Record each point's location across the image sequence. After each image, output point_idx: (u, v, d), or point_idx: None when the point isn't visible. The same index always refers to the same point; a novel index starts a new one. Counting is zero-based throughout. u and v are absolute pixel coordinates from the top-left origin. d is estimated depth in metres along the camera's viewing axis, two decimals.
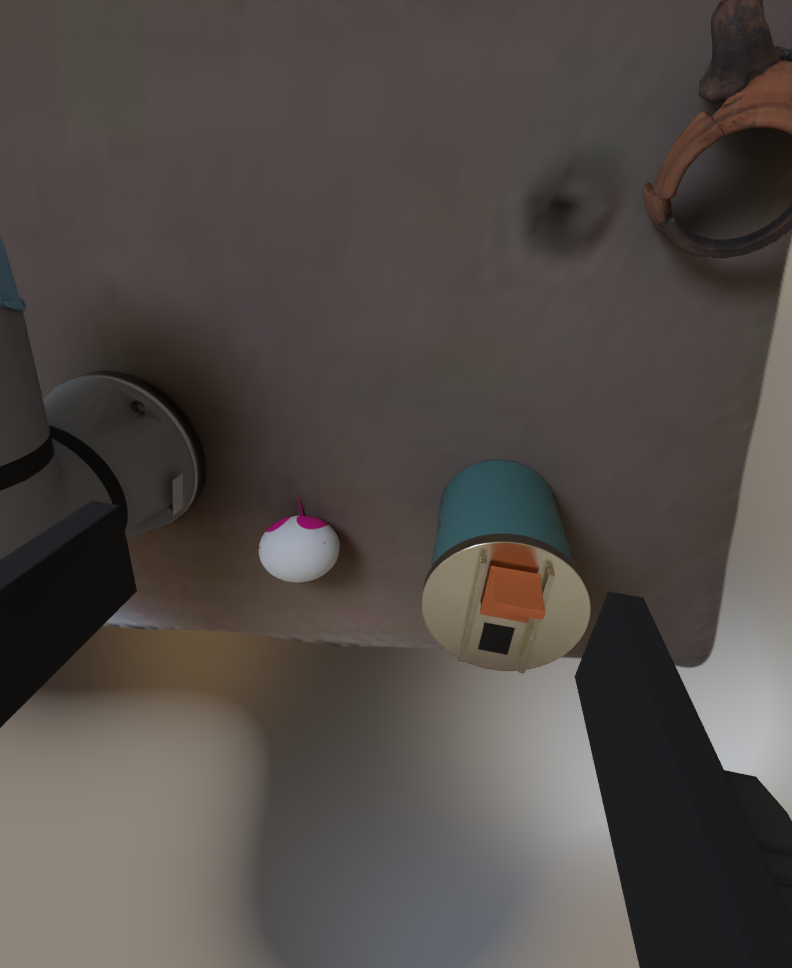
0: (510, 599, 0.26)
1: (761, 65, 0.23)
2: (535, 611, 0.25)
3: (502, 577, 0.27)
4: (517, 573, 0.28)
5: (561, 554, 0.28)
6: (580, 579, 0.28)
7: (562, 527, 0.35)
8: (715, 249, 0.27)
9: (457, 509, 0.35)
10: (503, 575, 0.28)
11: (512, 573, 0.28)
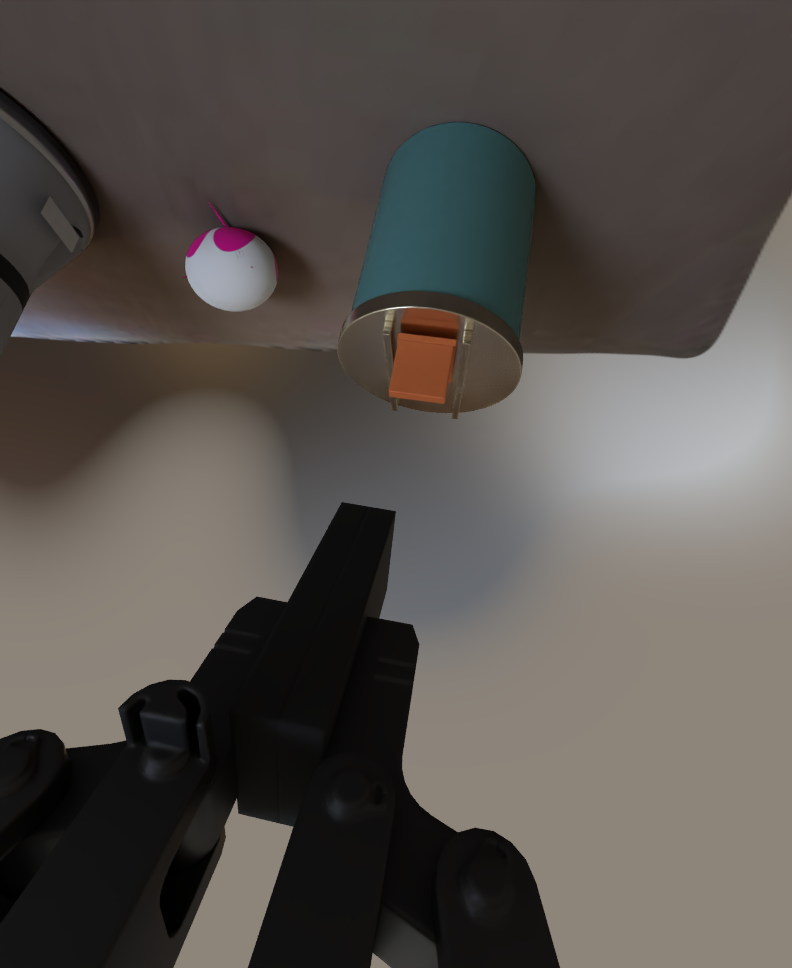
0: (408, 383, 0.23)
1: None
2: (433, 397, 0.23)
3: (407, 350, 0.23)
4: (428, 341, 0.24)
5: (483, 313, 0.23)
6: (505, 341, 0.24)
7: (519, 242, 0.26)
8: None
9: (379, 232, 0.26)
10: (410, 347, 0.24)
11: (421, 342, 0.24)
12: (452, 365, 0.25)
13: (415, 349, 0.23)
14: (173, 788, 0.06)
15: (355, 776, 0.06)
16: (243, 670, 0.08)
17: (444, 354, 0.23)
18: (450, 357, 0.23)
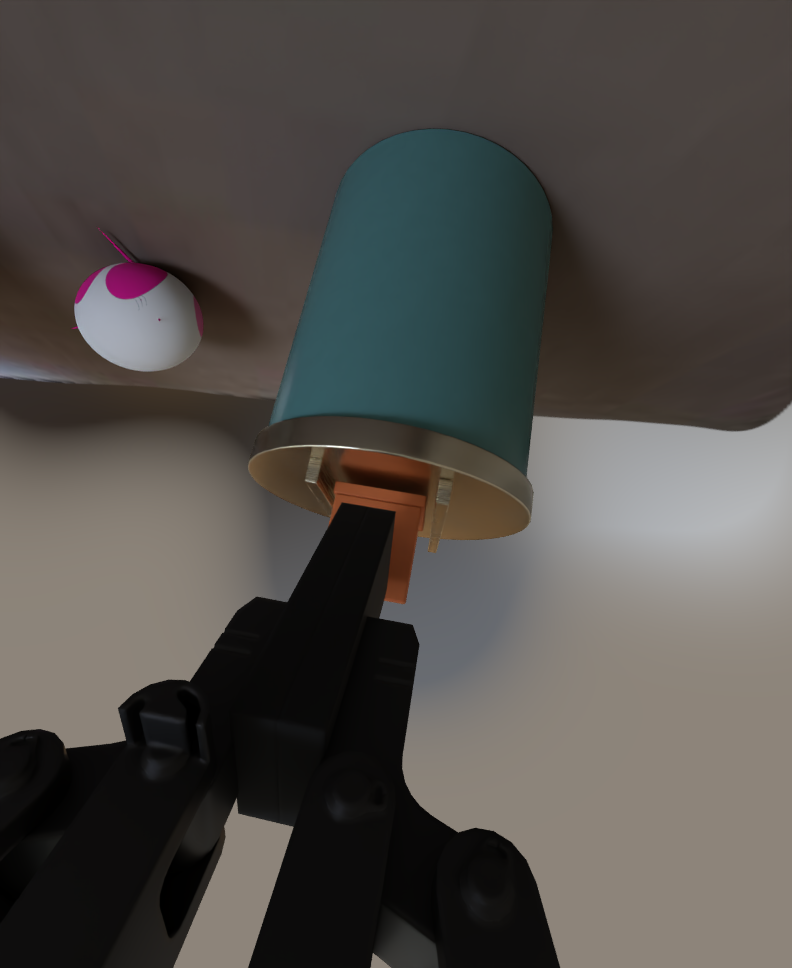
0: None
1: None
2: (387, 600, 0.14)
3: None
4: (381, 498, 0.15)
5: (471, 455, 0.14)
6: (507, 493, 0.14)
7: (530, 318, 0.17)
8: None
9: (313, 297, 0.17)
10: None
11: (371, 499, 0.15)
12: (422, 520, 0.17)
13: None
14: (173, 788, 0.06)
15: (355, 776, 0.06)
16: (243, 670, 0.08)
17: (406, 522, 0.15)
18: (415, 527, 0.15)
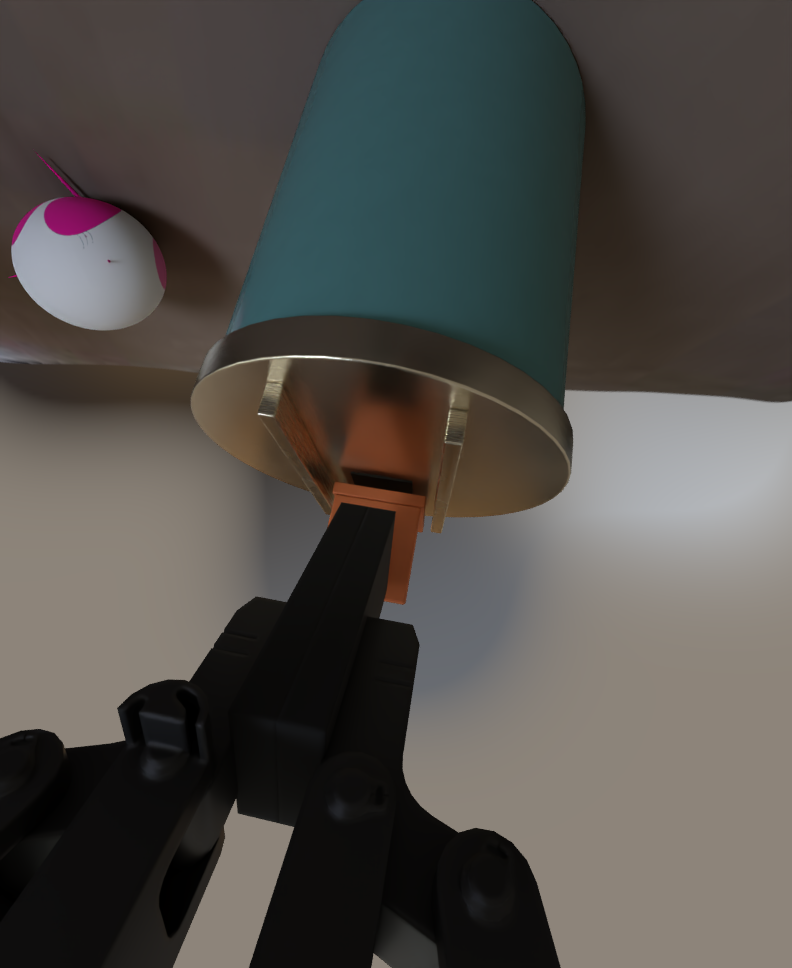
0: None
1: None
2: (386, 600, 0.14)
3: None
4: (380, 499, 0.15)
5: (495, 371, 0.09)
6: (545, 432, 0.10)
7: (565, 213, 0.13)
8: None
9: (279, 189, 0.13)
10: None
11: (370, 499, 0.15)
12: (421, 520, 0.16)
13: None
14: (172, 788, 0.06)
15: (357, 777, 0.06)
16: (243, 669, 0.08)
17: (405, 522, 0.15)
18: (415, 527, 0.15)
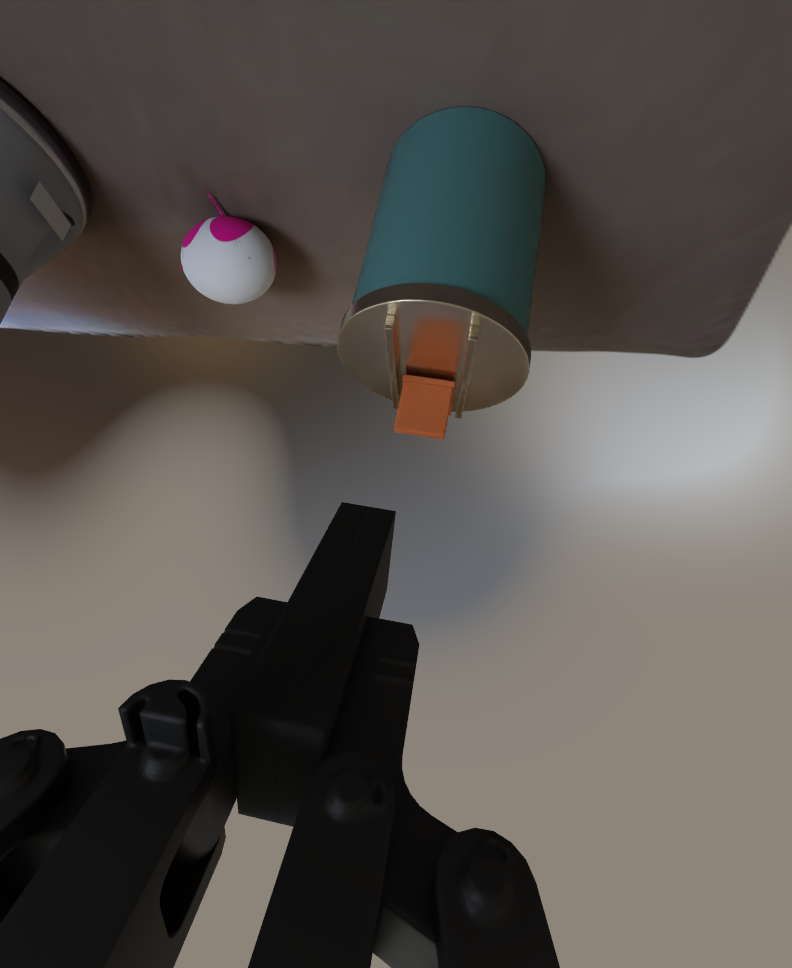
0: (412, 421, 0.26)
1: None
2: (434, 434, 0.26)
3: (411, 391, 0.26)
4: (429, 383, 0.27)
5: (491, 307, 0.22)
6: (514, 337, 0.22)
7: (528, 234, 0.25)
8: None
9: (382, 221, 0.25)
10: (413, 388, 0.27)
11: (424, 383, 0.27)
12: (451, 402, 0.28)
13: (418, 390, 0.26)
14: (173, 788, 0.06)
15: (355, 776, 0.06)
16: (244, 669, 0.08)
17: (444, 395, 0.26)
18: (449, 397, 0.26)
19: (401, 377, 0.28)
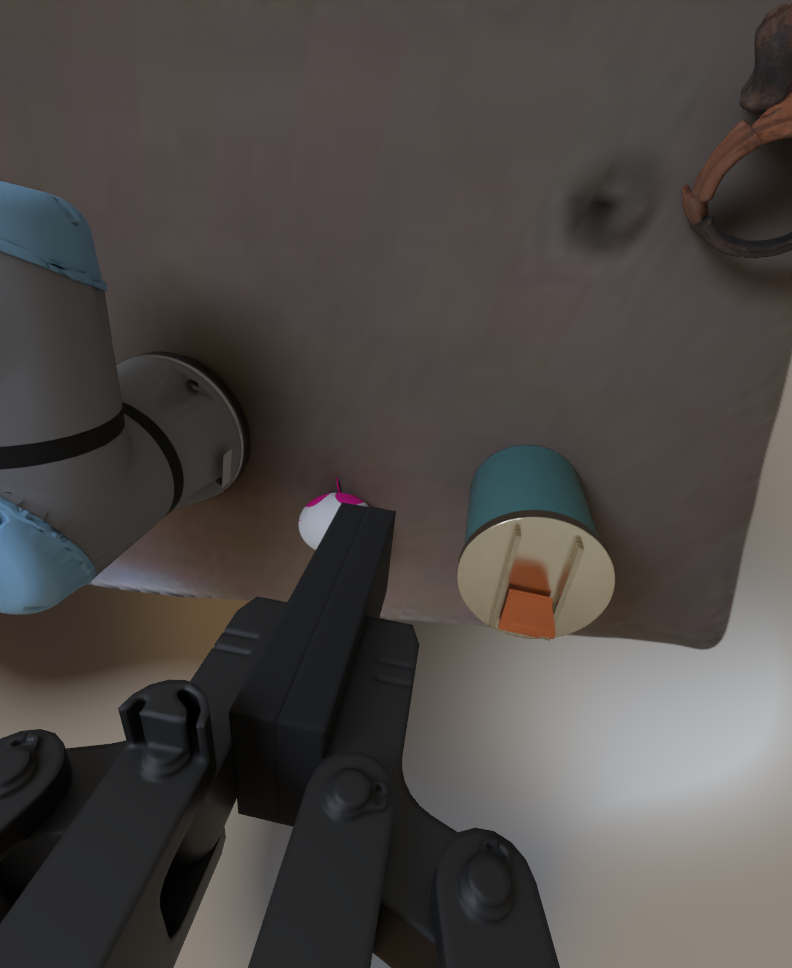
0: (526, 620, 0.30)
1: None
2: (547, 631, 0.30)
3: (519, 599, 0.32)
4: (532, 596, 0.33)
5: (590, 530, 0.31)
6: (607, 554, 0.31)
7: None
8: (748, 250, 0.29)
9: (490, 489, 0.37)
10: (520, 598, 0.32)
11: (527, 596, 0.33)
12: None
13: (524, 599, 0.32)
14: (173, 788, 0.06)
15: (356, 776, 0.06)
16: (244, 670, 0.08)
17: (546, 605, 0.32)
18: (551, 607, 0.32)
19: (503, 594, 0.34)
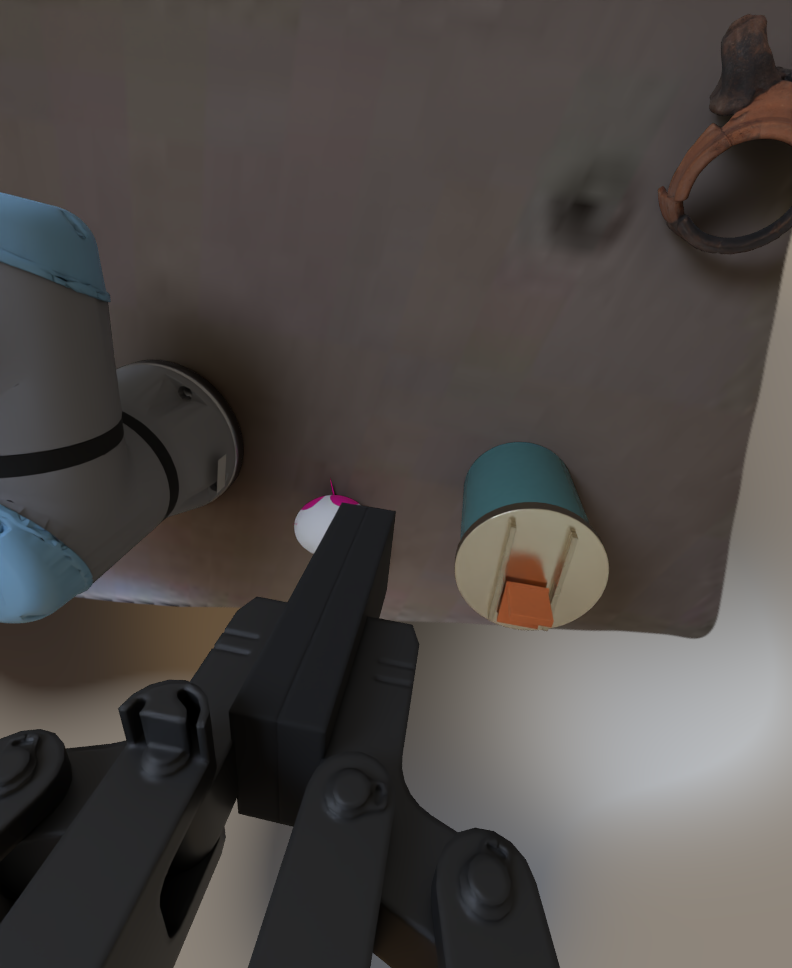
0: (524, 610, 0.31)
1: (765, 84, 0.26)
2: (545, 620, 0.30)
3: (516, 591, 0.33)
4: (529, 587, 0.33)
5: (583, 520, 0.32)
6: (600, 542, 0.31)
7: (580, 501, 0.38)
8: (723, 246, 0.30)
9: (484, 485, 0.38)
10: (517, 589, 0.33)
11: (524, 588, 0.33)
12: None
13: (521, 591, 0.33)
14: (173, 788, 0.06)
15: (356, 776, 0.06)
16: (244, 670, 0.08)
17: (543, 595, 0.33)
18: (548, 597, 0.32)
19: (500, 587, 0.34)
